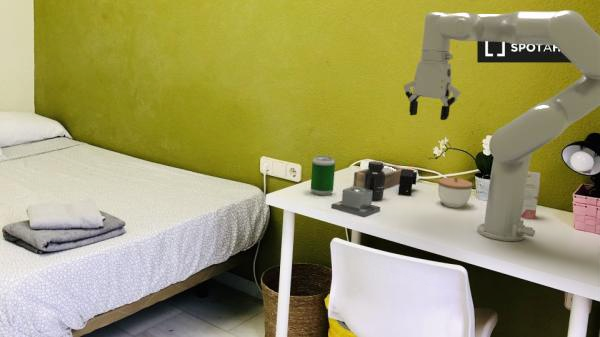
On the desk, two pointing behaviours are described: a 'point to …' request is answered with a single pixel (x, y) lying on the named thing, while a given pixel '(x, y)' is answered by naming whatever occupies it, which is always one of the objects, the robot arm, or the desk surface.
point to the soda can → (322, 175)
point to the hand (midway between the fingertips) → (428, 117)
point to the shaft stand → (360, 212)
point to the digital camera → (407, 182)
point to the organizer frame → (390, 177)
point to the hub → (357, 198)
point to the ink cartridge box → (531, 195)
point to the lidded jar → (454, 191)
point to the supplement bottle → (375, 180)
